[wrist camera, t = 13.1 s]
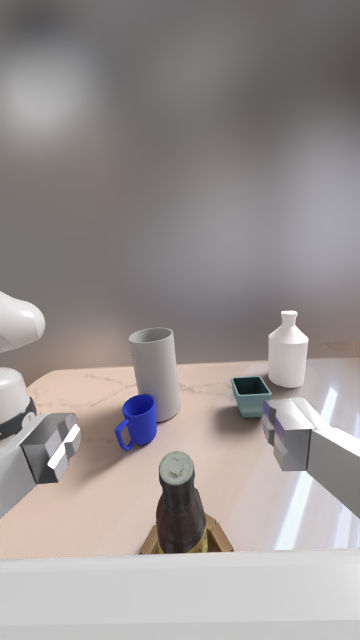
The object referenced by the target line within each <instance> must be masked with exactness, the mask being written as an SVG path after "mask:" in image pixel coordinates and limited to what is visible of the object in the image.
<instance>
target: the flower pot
mask: <svg viewBox="0 0 360 640" xmlns="http://www.w3.org/2000/svg"><path fill="white" fill-rule="evenodd" d="M231 381H232V388H233V393H234V397H235V399H236V402H237V405H238V408H239V411H240V413H241V415H242V416H243V417H244V418H251V417H262V416H263V415H264V414H265V412H264V410H263V409H262V405H263V400H270V399H271V394H272V393H271V392H270V390H269V389H268V387H267V386H266V384H265V383H264V381H263V380H262V378H261V377H260V376H251V377H234V378H231Z"/></svg>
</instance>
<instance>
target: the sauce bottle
mask: <svg viewBox="0 0 360 640" xmlns="http://www.w3.org/2000/svg"><path fill="white" fill-rule="evenodd" d="M194 477H195V472H194V465H193V461H192V459H191V458H190V456H189V455H187V454H186V453H184V452H181V451H174V452H171V453H169V454H167V455H166V456H165V457H164V458H163V459H162V461H161V463H160V466H159V481H160V484H161V486H162V488H163V493H162V495H161V497H160V500H159V502H158V506H157V511H156V523H157V538H158V545H159V553H160V554H179V553H208V545H207V526H206V516H205V512H204V509H203V506H202V502H201V499H200V496H199V492H198V490H197V489H196V488H194Z"/></svg>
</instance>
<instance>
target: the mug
mask: <svg viewBox="0 0 360 640" xmlns="http://www.w3.org/2000/svg"><path fill="white" fill-rule="evenodd" d="M123 414H124V417H125V420H124V421H123V422H121V423H120V425H119V426H118V427H117V428H116V429H115V434H116V437H117V440H118V442H119V444H120V446H121V448H122V449H123V450H125V451H129V450H130V449H131V448H132V447H133V445H134V443H136V444H138V445H145V444H147V443H149V442H151V441H152V440H153V439H154V437H155V435H156V431H157V425H156V409H155V400H154V398H153V397H152V396H150V395H146V394H142V395H137V396H134V397H132V398H130V399H129V400H127V401H126V402H125V404H124V405H123ZM126 425H127V427H128V430H129V433H130V437H131V442H130V443H129V445H128V446H125V445H124V443H123V440H122V436H121V431H122V429H123V428H124V427H125V426H126Z"/></svg>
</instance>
